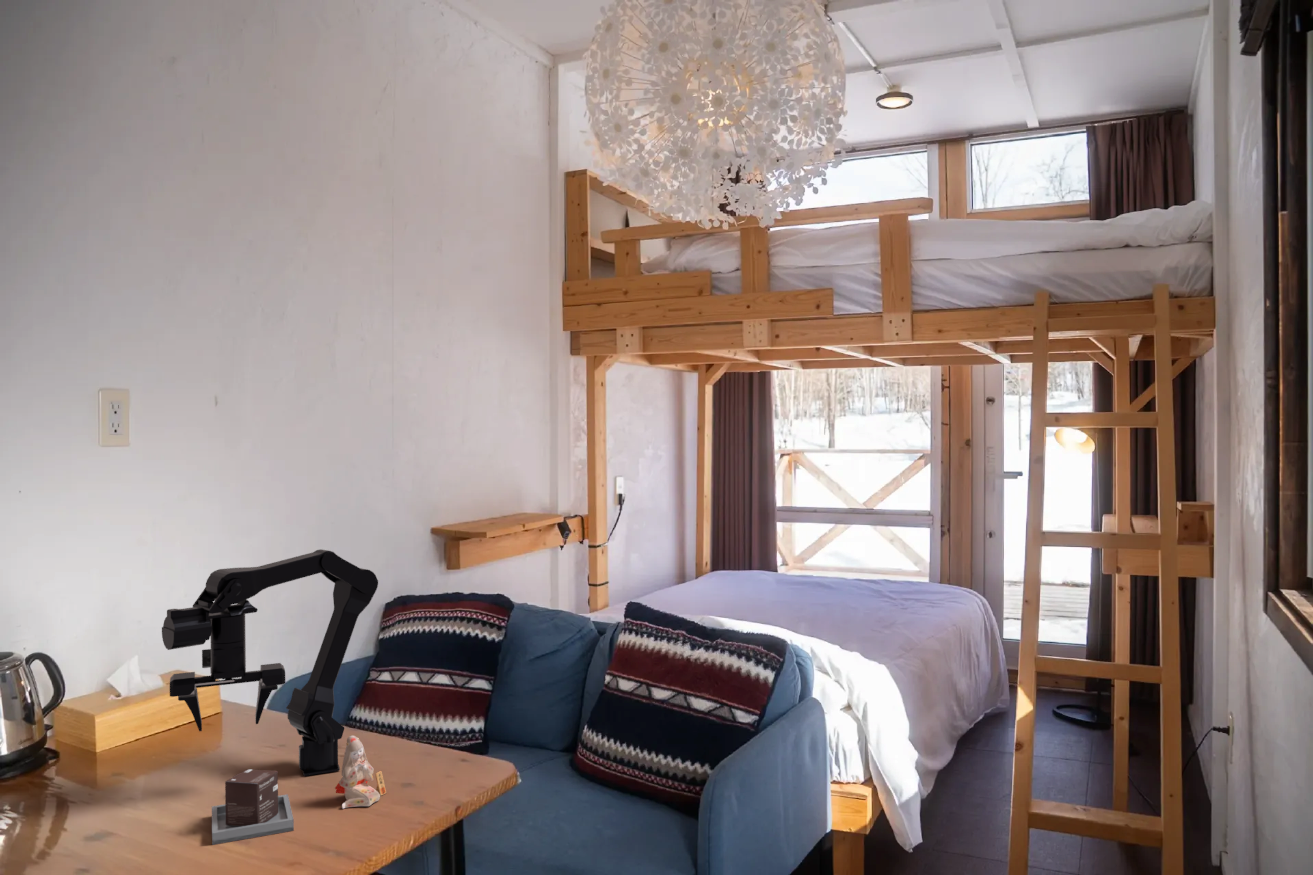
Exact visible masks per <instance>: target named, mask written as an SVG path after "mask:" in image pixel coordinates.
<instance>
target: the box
mask: <svg viewBox="0 0 1313 875" xmlns="http://www.w3.org/2000/svg"><path fill="white" fill-rule="evenodd" d="M278 782H279V781H278V770H267V769H265V770H264V769H246V770H242V772H239V773H238V774H235V775H234V776H232V777H230V778H229V779H227V780H225V781H224V784H225V787H224V788H225V790H224V791H225V793H224V794H225V796H224V797H225V811H226V825H230V826H248V825H253V824H259V823H265V822H267V821H269V820H270V819H271V818H273V817H274V816H275V815H277V814H278V796H279V786H278V785H279V783H278Z"/></svg>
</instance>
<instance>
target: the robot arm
mask: <svg viewBox="0 0 1313 875" xmlns="http://www.w3.org/2000/svg"><path fill="white" fill-rule="evenodd" d="M317 574H318V575H319V574H322V575H323V576H324V577H325V578H326V579H328V580H329V581H331V582H332V583H334V586H333V591H332V598H333V611H332V615H331V617H330V620H329V623H328V625H327V628H326V632H325V633H324V634H325V635H324V637H323V639H322V643H321V644H320V645H321V646H320V649H319V652H318V654H317V657H316V659H315V661H314V665H313V668H312V670H311V673H310V677H309V678H308V681H307V682H306V683H305V685H304V686H303V687H302V688H300V689H299V688H297V687H294V688H293V690H292V693H291V694H292V695H291V698H290V701H289V703H288V705H287V706H286V707H285V708H286V710H288V711H287V720H288V721H289V724H290V725H291V726H292V727H293V728H295V729H296V731H297V734H298V735H299V736H301V744H299V745H298V767H299V770H300V771H302V773H303V776H305V777H307V776H315V775H319V774H328V773H333V772H338V771H340V770H341V768H340V765H339V740H340V739H342V737H343V734H344V732H345V727H344V725H342V724H341V723H340V722H339V721H337V720H336V719H335V718H333V715H334V711H335V710H334V709H335V694H334V688H335V687H334V686H335V684H336V681H337V678H338V675H339V672H340V669H341V667H342V664H343V661H344V658H345V655H346V652H347V649H348V646H349V643H350V641H351V637H352V635H353V632H354V629H355V627H356V623H357V620H358V617H359V616H360V614H362V612H363V611H364V610H365V609H366V608H367V607H368V605H370V603H371V602H372V599H373V597H374V595H375V594H376V592H377V589H378V587H379V580H378V578H377V576H376V573H374V571H372V570H370V569H367V568H363V567H358V566H356V565H355V564H353V563H351V562H349V561H347V560H345V559H344V558H342V557H341V556H339V555H338V554H336V553H335V552H334V551H333V550H332V551H331V550H329V549H328V550H327V549H326V550H325V549H323V548H322V549H317V550H314V551H312V552H309V553H305V554H302V555H298V556H294V557H290V558H286V559H283V560H282V559H281V560H279V561H274V562H271V563H268V564H267V563H266V564H262V565H259V566H252V567H250V566H248V567H226V568H219V569H216V570H214V571H212V572H211V573H210V575H209V576H208V578H207V579H206V582H205V587H204V588H203V590H202V591H201V593H200V595H199V596H198V598H197V599H196V600H195V601H194V603H193V605H192V607H184V608H169V609H167V610H166V617H165V618H164V620H163V626H162V627H161V638H162V641H163V645H164V647H165V649H167V651H170V650H175V649H176V650H177V649H183V648H189V647H195V646H202V645H204V644H205V643H206V641H209V640H210V648H208V649H207V648H206V649H202V650H201V667H202V669H208V668H210V675H203V676H196V672H195V671H190V672H181V673H173V674H172V676H171V677H170V678H169V697H171V698H173V697H175V698H176V697H177V700H178V701H179V702H180V701H184V702H185V704H186V705H187V707H188V708H189V711H190V712H191V714H192V716H193V719H194V722H195V724H196V726H197V729H198V732H202V731H203V725H202V724H203V721H202V715H201V707H200V701H199V695H198V688H200V689H201V688H209V687H216V686H225V685H226V686H227V685H233V684H234V685H236V684H245V683H251V682H258V686H257V688H258V690H257V698H256V707H255V715H254V716H255V725H258V724H259V723H260V719H261V718H262V714H263V711H264V708H265V706H266V703H267V702H268V699H269V697H270V696H271V693H272V691H276V690H278V686H281V685H284V684H286V670H285V667H284V665H283V664H282V663H281V662H277V663H267V664H266V663H265V664H260V668H259V670H250V671H247V670H246V669H247V665H246V664H247V663H246V662H247V660H246V659H247V656H246V645H247V644H246V614H247V615H249V614H253V613H255V614H256V613H257V612H258V608H257V607H255V606H254V605H253V604H251V602H250V601H249V600H248V599H250V598H252V597H253V598H254V597H255V596H256V595H258V594H259V593H260V592H262V591H264V590H266V589H268V588H271V587H274V586H278V585H281V584H286V583H288V582H293V581H296V580H299V579H303V578H307V577H310V576H314V575H317Z"/></svg>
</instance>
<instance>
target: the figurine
mask: <svg viewBox="0 0 1313 875" xmlns="http://www.w3.org/2000/svg"><path fill="white" fill-rule="evenodd" d="M341 767H342V768H341V778H340V780H339V781H338V783H337V784H336V786H335V787H334V789H335V794H343V795H344V797H345V799H346V800H345V801H344V802H343V803H342V804H341V809H346V808H347V809H348V808H354V807H357V808H358V807H370V806H372V804H374V803H376V802H379V800H380V799H381V796H383V795H385V794H387V790H386V789H387V788H386V786H385V781H384V776H383V772H382V770H380V771H378V772H375V773H374V769H375V768H374V767H373V766H372V765H371V763H370V762H369V761H368V758H367V754H366V752H365V748H364V745H363V742H362V741H361V740H360V738H359V737H357V736H356V735H354V734H353V735H349V736H348V737H347V738H346V746H345V751H344V755H343V762H342V766H341ZM373 774H374V775H375V780H376V789H375V788H374V787H372V786H371V785H369V784H368V782H373V781H374V776H373Z"/></svg>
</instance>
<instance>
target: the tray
mask: <svg viewBox="0 0 1313 875" xmlns="http://www.w3.org/2000/svg"><path fill="white" fill-rule="evenodd" d="M294 819H295V818H294V816H293V812H292V808H291V803H290V797H289V794H288V793H287V794H286V793H285V794H282V795H281V794H280V795H278V814H277V815H275V816H274V817H273V818H271V819H270V820H269V821H267V822H265V823H259V824H253V825H248V826H230V825H226V811H225V804H219V805H212V806H211V839H212V843H211V844H212V845H211V846H214V845H220V844H226V843H231V842H236V841H242V840H248V839H253V838H254V839H255V838H259V837H264V836H271V835H275V834H282V833H288V832H293V831H294V830H295V827H294V826H295V825H294V822H295V821H294Z"/></svg>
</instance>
